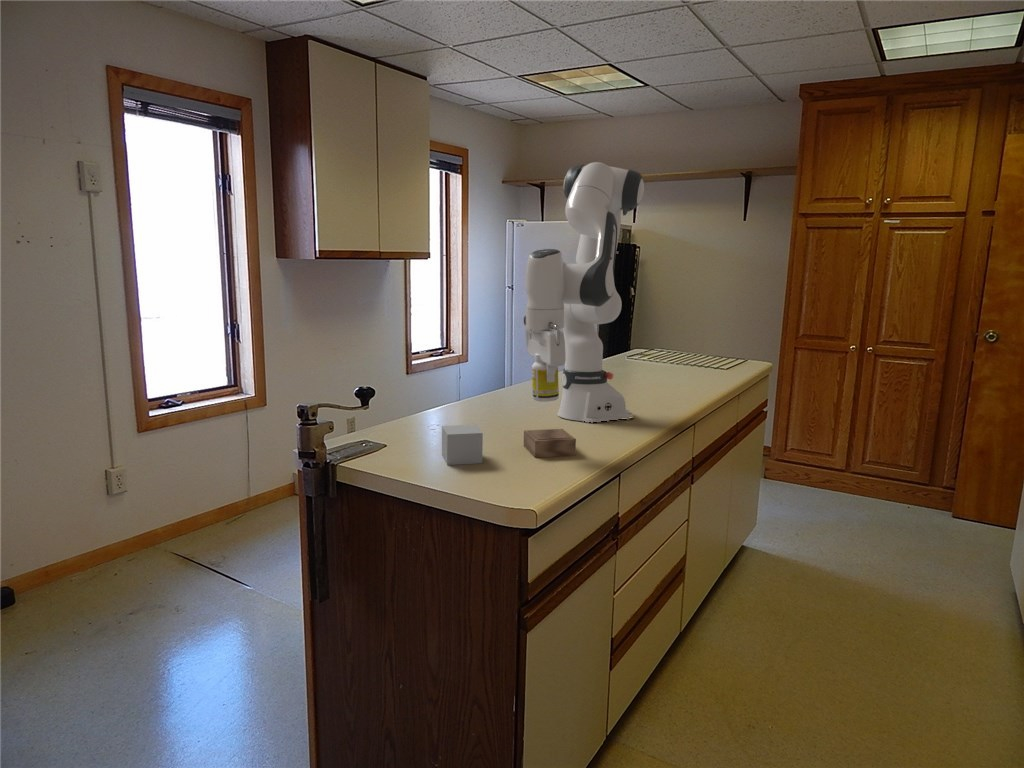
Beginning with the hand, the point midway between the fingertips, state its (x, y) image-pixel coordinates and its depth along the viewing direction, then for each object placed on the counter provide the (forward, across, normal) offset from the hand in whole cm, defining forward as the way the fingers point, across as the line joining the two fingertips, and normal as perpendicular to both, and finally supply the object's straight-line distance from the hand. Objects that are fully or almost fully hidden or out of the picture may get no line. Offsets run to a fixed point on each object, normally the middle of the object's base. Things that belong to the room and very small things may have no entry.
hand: (545, 378), depth 156 cm
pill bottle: (+5, 0, 0) cm, 5 cm away
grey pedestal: (+17, -3, +21) cm, 27 cm away
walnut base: (+18, 0, -1) cm, 18 cm away
